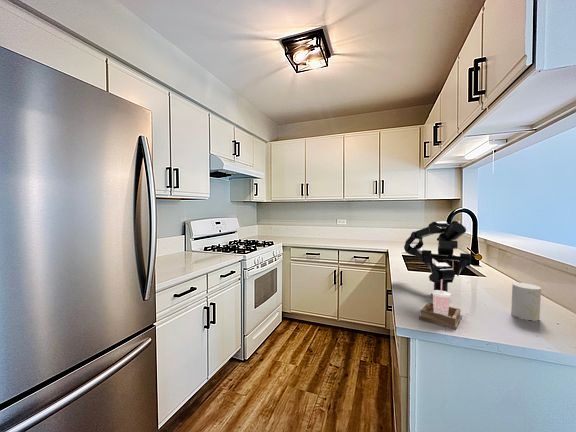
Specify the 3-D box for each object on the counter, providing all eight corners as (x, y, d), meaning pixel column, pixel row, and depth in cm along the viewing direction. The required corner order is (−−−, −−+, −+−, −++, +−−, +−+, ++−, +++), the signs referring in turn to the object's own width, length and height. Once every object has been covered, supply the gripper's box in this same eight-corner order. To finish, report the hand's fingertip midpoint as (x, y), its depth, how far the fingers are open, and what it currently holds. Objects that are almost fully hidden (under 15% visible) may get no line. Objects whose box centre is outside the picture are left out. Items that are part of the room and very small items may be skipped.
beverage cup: (454, 318, 97) (455, 281, 97) (440, 320, 96) (441, 282, 95) (440, 312, 103) (441, 276, 103) (427, 313, 102) (428, 277, 101)
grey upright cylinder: (529, 322, 97) (531, 290, 96) (505, 313, 104) (507, 283, 104) (545, 319, 99) (546, 288, 98) (520, 311, 107) (522, 281, 106)
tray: (427, 309, 108) (427, 301, 108) (461, 318, 100) (462, 309, 100) (418, 319, 99) (418, 310, 99) (456, 329, 91) (456, 319, 91)
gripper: (422, 232, 120) (419, 260, 111) (471, 234, 111) (473, 266, 102) (422, 247, 127) (420, 274, 118) (469, 250, 118) (471, 281, 109)
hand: (444, 274), depth 112 cm, fingers open, 9 cm apart
